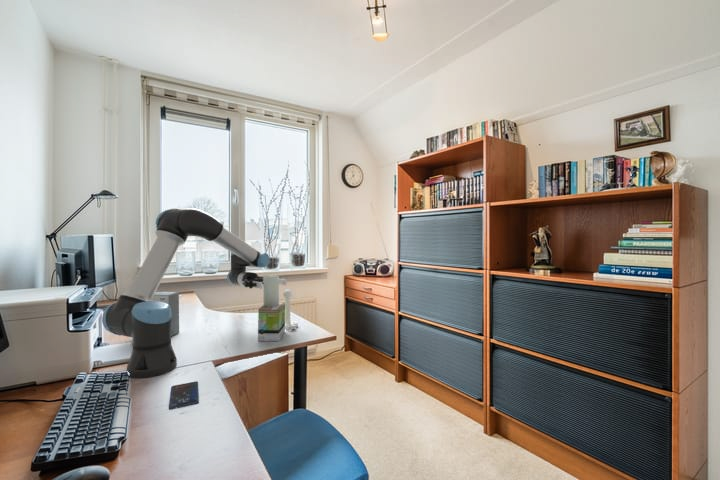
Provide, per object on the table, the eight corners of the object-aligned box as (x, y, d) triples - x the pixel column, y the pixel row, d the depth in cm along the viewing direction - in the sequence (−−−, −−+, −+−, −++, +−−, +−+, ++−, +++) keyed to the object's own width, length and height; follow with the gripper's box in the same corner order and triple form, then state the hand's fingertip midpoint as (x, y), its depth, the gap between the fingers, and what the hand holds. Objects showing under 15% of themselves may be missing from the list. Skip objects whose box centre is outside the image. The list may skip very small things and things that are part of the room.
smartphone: (197, 380, 107) (198, 401, 93) (197, 383, 107) (198, 404, 93) (171, 385, 103) (168, 408, 90) (171, 388, 103) (168, 411, 90)
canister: (269, 307, 150) (269, 277, 150) (260, 305, 154) (260, 275, 154) (281, 305, 155) (281, 275, 155) (272, 302, 160) (272, 274, 159)
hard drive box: (180, 332, 158) (179, 292, 158) (169, 338, 151) (169, 295, 150) (150, 331, 160) (150, 291, 160) (138, 336, 152) (138, 294, 152)
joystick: (279, 325, 172) (279, 288, 171) (293, 323, 176) (293, 286, 176) (287, 331, 163) (287, 291, 162) (301, 328, 167) (301, 290, 166)
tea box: (279, 341, 148) (279, 308, 147) (257, 341, 147) (257, 309, 147) (285, 331, 163) (285, 301, 162) (264, 331, 162) (265, 301, 162)
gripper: (269, 283, 176) (294, 288, 163) (225, 289, 157) (250, 295, 144) (269, 270, 176) (294, 273, 163) (225, 274, 157) (250, 278, 143)
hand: (274, 283), depth 153 cm, fingers open, 13 cm apart
